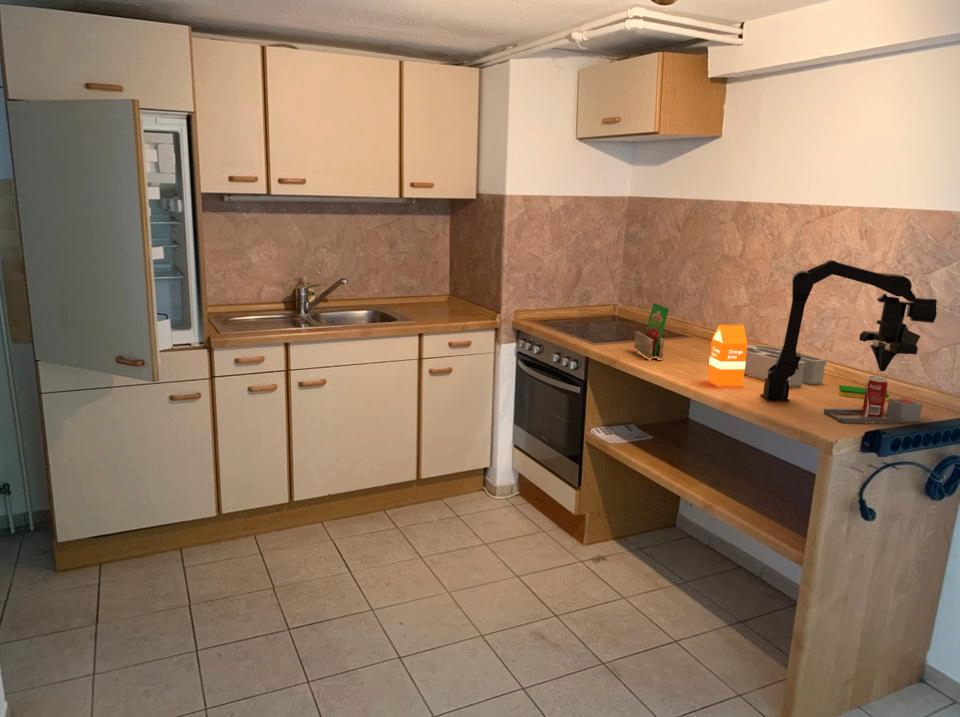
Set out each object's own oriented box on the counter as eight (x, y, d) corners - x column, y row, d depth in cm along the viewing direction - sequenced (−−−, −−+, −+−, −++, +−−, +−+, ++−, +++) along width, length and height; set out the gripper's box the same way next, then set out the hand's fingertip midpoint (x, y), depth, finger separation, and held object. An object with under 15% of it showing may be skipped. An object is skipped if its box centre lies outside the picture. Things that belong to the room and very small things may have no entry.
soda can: (863, 414, 216) (870, 374, 214) (883, 418, 213) (890, 377, 210) (859, 418, 212) (865, 377, 210) (879, 422, 209) (886, 380, 206)
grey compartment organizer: (789, 389, 243) (793, 363, 242) (725, 370, 267) (728, 346, 265) (823, 384, 251) (827, 360, 249) (757, 366, 275) (760, 343, 273)
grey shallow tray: (842, 423, 206) (843, 418, 206) (823, 413, 216) (824, 408, 215) (902, 423, 209) (903, 418, 208) (880, 413, 218) (881, 408, 217)
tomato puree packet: (638, 351, 293) (652, 302, 289) (640, 351, 293) (655, 302, 289) (652, 360, 278) (668, 308, 274) (655, 360, 278) (670, 309, 274)
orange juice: (742, 387, 243) (750, 327, 239) (717, 387, 242) (724, 326, 237) (731, 380, 251) (737, 322, 246) (706, 381, 249) (713, 322, 245)
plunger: (901, 417, 212) (904, 400, 211) (895, 415, 215) (898, 397, 214) (910, 417, 212) (913, 400, 211) (904, 415, 215) (907, 397, 214)
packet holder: (648, 360, 277) (650, 339, 275) (633, 351, 293) (635, 331, 291) (662, 360, 277) (664, 340, 276) (647, 351, 294) (648, 331, 292)
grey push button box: (899, 421, 210) (902, 404, 209) (886, 415, 216) (888, 398, 215) (919, 421, 211) (922, 404, 210) (905, 415, 217) (907, 398, 216)
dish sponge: (888, 402, 232) (889, 395, 231) (839, 397, 237) (840, 389, 236) (885, 397, 238) (886, 390, 238) (837, 391, 243) (838, 384, 242)
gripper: (940, 326, 205) (929, 380, 209) (897, 314, 224) (887, 364, 227) (903, 324, 204) (892, 379, 208) (862, 312, 222) (853, 363, 226)
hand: (882, 371), depth 217 cm, fingers closed
